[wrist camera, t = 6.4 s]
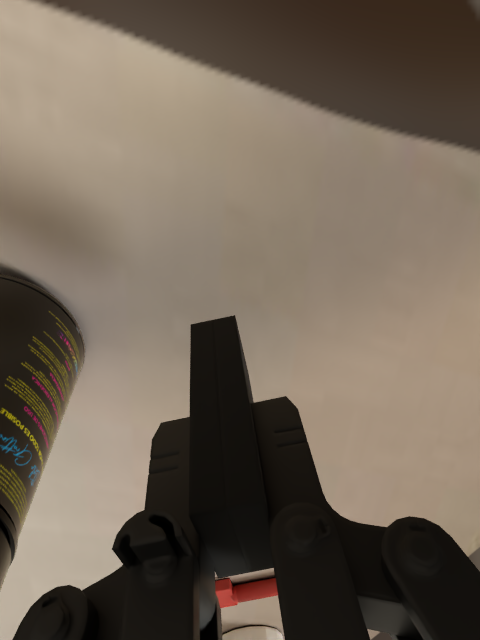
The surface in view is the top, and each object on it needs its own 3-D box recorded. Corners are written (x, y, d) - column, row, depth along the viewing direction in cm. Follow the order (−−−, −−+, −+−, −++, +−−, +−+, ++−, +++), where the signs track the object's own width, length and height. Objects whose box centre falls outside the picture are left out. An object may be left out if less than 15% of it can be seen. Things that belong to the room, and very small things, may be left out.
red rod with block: (361, 552, 32) (366, 568, 31) (361, 570, 33) (366, 586, 32) (177, 587, 32) (176, 604, 31) (186, 603, 34) (186, 620, 33)
